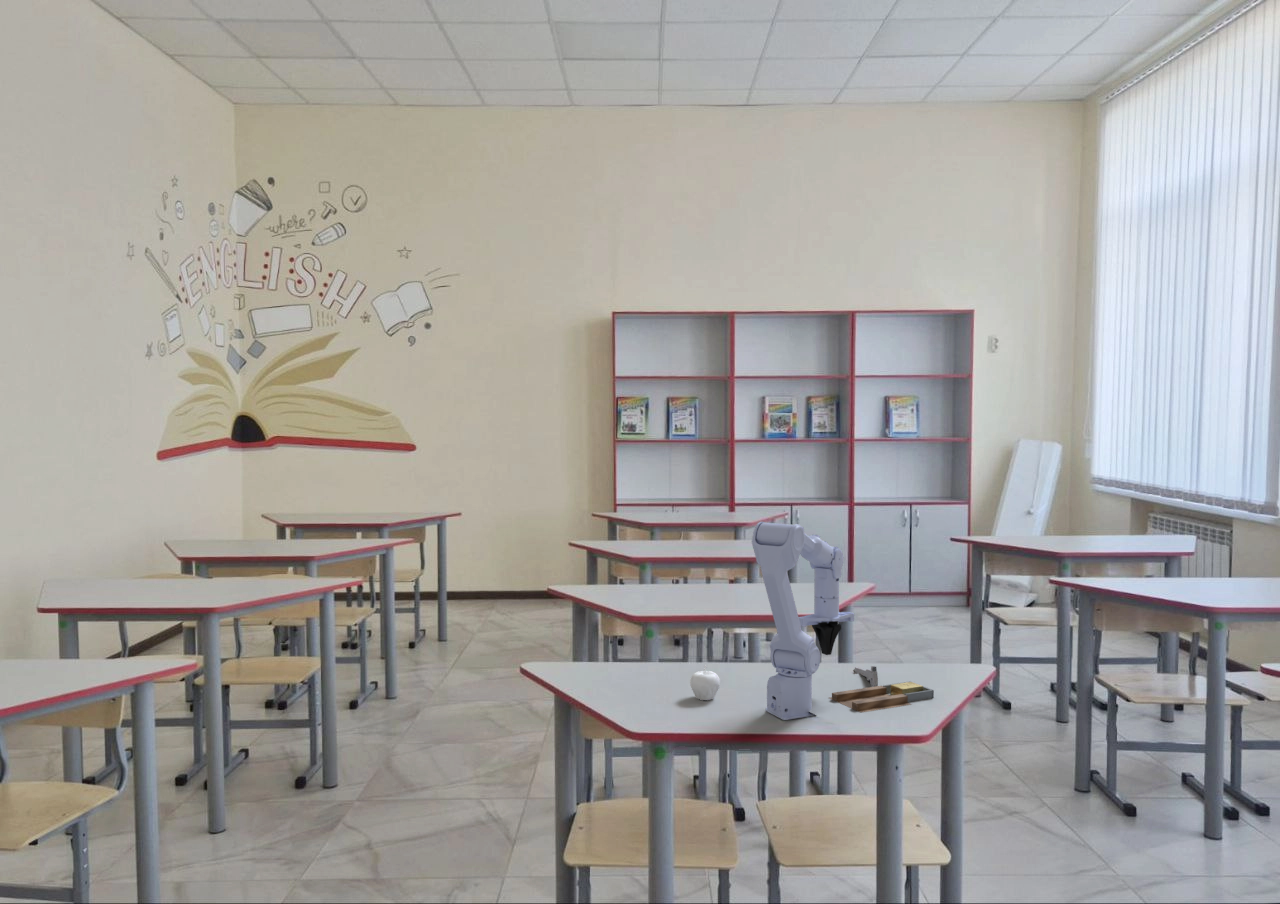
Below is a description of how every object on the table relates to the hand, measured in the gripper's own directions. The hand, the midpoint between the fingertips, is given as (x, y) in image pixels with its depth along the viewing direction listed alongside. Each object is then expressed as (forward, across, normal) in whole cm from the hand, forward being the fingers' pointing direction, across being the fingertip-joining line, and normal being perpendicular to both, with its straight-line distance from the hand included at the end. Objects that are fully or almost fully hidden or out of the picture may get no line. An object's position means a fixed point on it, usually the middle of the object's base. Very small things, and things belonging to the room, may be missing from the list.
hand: (826, 653), depth 220 cm
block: (+10, +15, -11) cm, 21 cm away
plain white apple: (+10, -27, +10) cm, 31 cm away
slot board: (+10, +4, -11) cm, 15 cm away
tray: (+10, +15, -11) cm, 21 cm away
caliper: (+10, +16, +6) cm, 20 cm away
